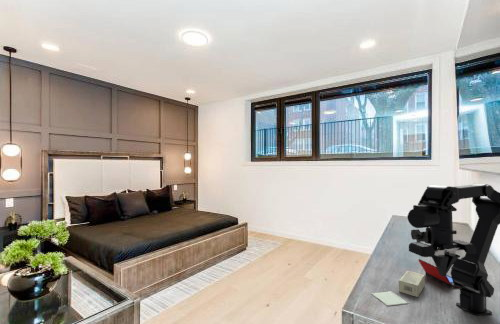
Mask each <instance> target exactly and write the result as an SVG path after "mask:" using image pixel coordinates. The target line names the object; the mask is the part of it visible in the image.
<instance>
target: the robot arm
mask: <svg viewBox="0 0 500 324" xmlns="http://www.w3.org/2000/svg"><path fill="white" fill-rule="evenodd" d="M464 199H465V200H466V199H471V203H473V204H474V206H475V212H476V215H477V217H478V219H477V223H476V225H475V228H474V230H473V233H472V236H471V238H470V241H469V242H467V241H464V240H460V239H455V240H454V235H457V234H458V233H457V230H456V229H453V228H454V226H453V212H456V211H457V210H458V209H457V207H455V206H454V204H457V203H459V202H460V200H464ZM406 218H407V220H408V223H409V224H410V225H411V226H412V227H413V228H415V229H411V230H410V235H411V236H410V237H411V239H412V240H416V242H415V241H414V242H410V243H409V244H408V252H410V253H413V254H415V255H417V256H420V257H423V258H432V260H433V262H434V264H435V265H434V266H435V267H437V269H438V272H439V274H440V275H441V276H446V275H447V274H448V273H449V271H450V277H452V280H453V283H454V285H455V286H458V287H460V288H459V302H456V303H455V305H456V306H458V307H459V308H461V309H462V310H465V311H466V312H468V313H470V314H472V315H474V316H483V315H484V314H485V315H490V313H492V314H493V312H492V311H491V310H489V309H488V308H487V298H492V296H494V294H495V293H494V292H495V288H494V286H493V285H492V284H491V282H489V281H488V276H489V273H488V272H487V268H486V265H485V264H486V261H487V257H488V256H489V255H488V254H489V253H490V249H491V246H492V243H493V240H494V237H495V236H496V232H497V229H498V226H499V225H500V192H499V191H497V190H496V189H495V188H494V187H492V185H490V184H487V183H473V184H466V185H458V186H447V185H433V184H432V185H431V184H430V185H428V186H427V187H426V189H425V190H424V192H423V193H422V196H421V198H420V200H419V201H418V203H417V204H414V205H413V206H412V209H410V210H409V211H408V214H407V217H406ZM423 228H425V231H420V229H423ZM456 251H464V252H465V255H464V256H463V257H461V254H456V253H457V252H456ZM450 269H451V270H450Z"/></svg>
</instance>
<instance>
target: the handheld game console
mask: <svg viewBox="0 0 500 324" xmlns="http://www.w3.org/2000/svg"><path fill="white" fill-rule="evenodd" d="M418 262H419V264H420V265H421V267H422V269H423V270H424V273H425V274H424V275H425V277H426V276H427V277H428V278H430V279H432V280H435V281H437V282H438V283H440V284H441V285H444V286H446V287H447V288H449V289H460V287H458V286H455V285H454V283H453V280H452V277H451V275H447V274H446V276H441V275H440V274H439V272H438V269H437V267H436V265H433V264H431V263H429V262H426V261H424V260H422V259H420V258H419V259H418Z"/></svg>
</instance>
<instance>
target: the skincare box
mask: <svg viewBox="0 0 500 324" xmlns="http://www.w3.org/2000/svg"><path fill="white" fill-rule="evenodd" d="M425 277H426V275H425V274H422V273H419V272H415V271H411V270H406V271H405V272H404V274H403V275H402V277H401V278H399V280H398V290H399V291H398V292H400V293H403V294H407V295H410V296H413V297H417V298H418V297H419V296H420V295H421V293H422V292H423V289H424V287H425V285H426V284H425V281H426V280H425V279H426V278H425Z"/></svg>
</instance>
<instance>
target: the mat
mask: <svg viewBox="0 0 500 324" xmlns="http://www.w3.org/2000/svg"><path fill="white" fill-rule="evenodd" d="M371 295H372V296H373V297H375V298H376V299H377V300H379V301H380V302H381V303H383V304H384V305H385V306H387V307H391V306H399V305H407V304H409V302H408V301H406V300H404V299H403V298H402V297H400V296H399V295H397V294H396V293H394V292H393V291H391V290H390V291H389V290H388V291H383V292H373V293H371Z"/></svg>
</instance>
